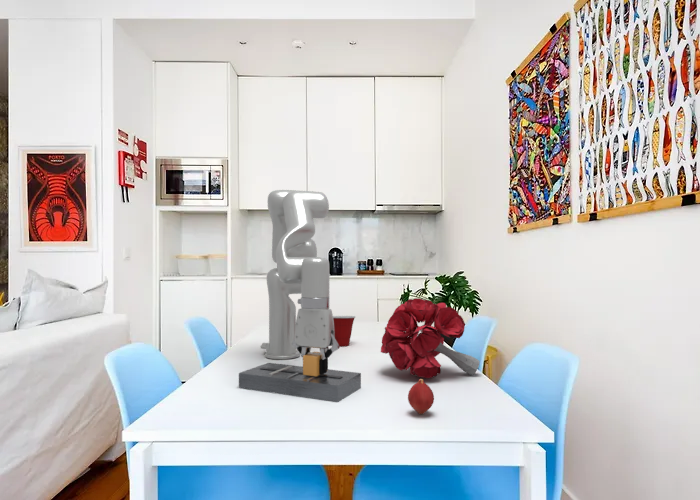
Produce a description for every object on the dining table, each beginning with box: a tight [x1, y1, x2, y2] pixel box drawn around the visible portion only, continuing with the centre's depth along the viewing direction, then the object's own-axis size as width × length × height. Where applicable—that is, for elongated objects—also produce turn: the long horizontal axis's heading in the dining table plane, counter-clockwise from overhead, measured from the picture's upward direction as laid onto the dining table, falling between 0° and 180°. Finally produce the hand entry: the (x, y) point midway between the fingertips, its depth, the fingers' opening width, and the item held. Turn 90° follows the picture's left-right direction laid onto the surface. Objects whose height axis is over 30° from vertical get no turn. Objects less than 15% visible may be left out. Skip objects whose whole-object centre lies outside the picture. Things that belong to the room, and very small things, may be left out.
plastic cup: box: [333, 315, 356, 348], centre depth 193 cm, size 11×11×12 cm
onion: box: [407, 378, 435, 415], centre depth 108 cm, size 6×6×8 cm
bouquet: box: [380, 297, 480, 379], centre depth 144 cm, size 22×24×30 cm
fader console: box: [238, 362, 362, 403], centre depth 130 cm, size 30×14×4 cm, turn 65°
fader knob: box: [302, 351, 321, 376], centre depth 128 cm, size 4×6×5 cm
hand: (315, 371), depth 128 cm, fingers closed on fader knob, 4 cm apart
